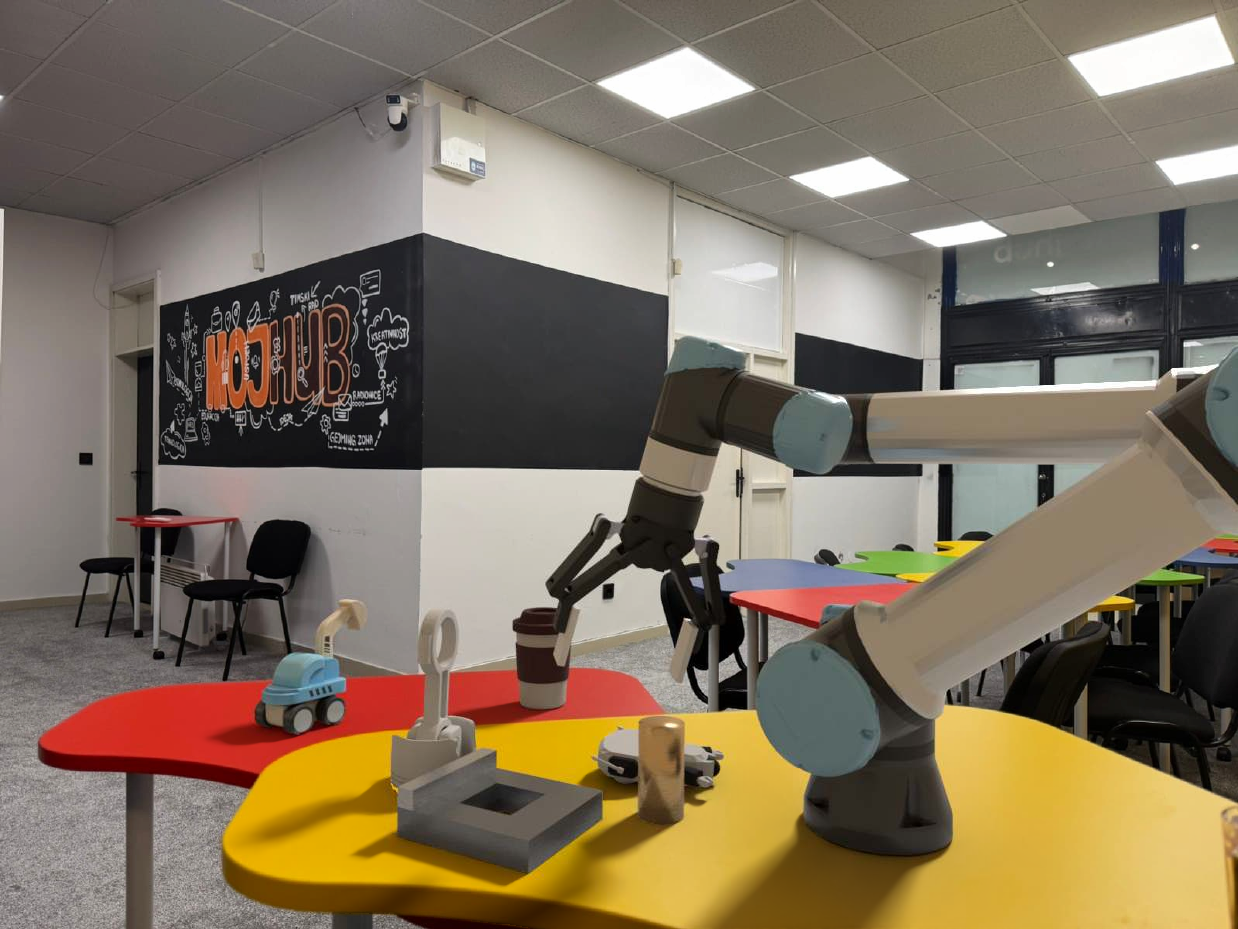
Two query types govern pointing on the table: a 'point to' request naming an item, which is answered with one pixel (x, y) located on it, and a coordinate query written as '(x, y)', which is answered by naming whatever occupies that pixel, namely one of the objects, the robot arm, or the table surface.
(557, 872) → the table surface
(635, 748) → the robot toy
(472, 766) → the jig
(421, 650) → the engine component
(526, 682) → the coffee cup
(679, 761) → the copper cylinder rod
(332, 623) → the toy excavator
